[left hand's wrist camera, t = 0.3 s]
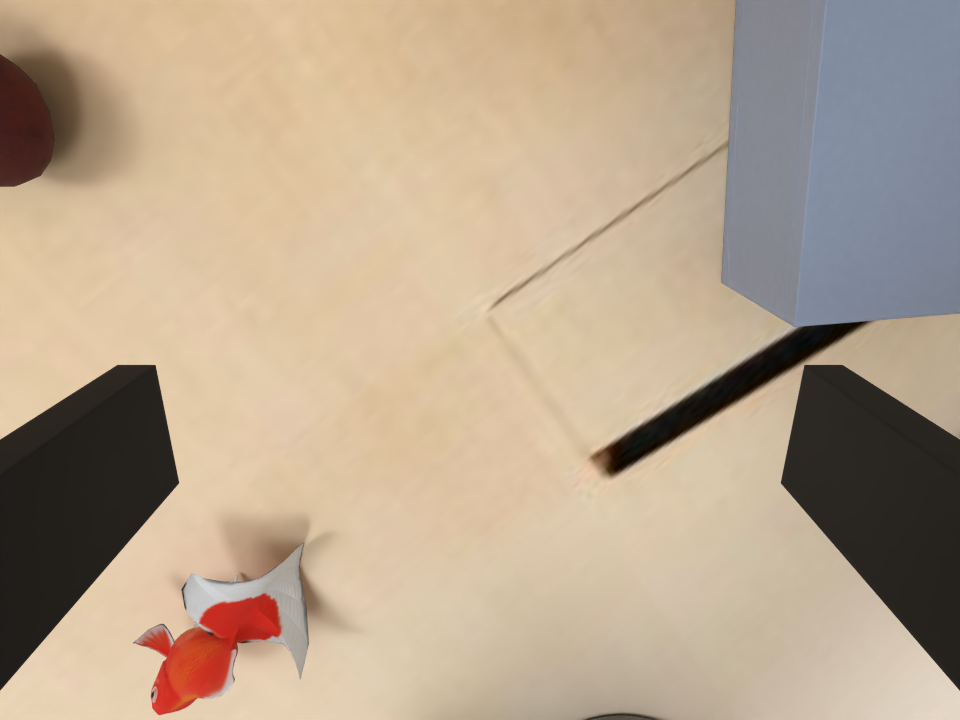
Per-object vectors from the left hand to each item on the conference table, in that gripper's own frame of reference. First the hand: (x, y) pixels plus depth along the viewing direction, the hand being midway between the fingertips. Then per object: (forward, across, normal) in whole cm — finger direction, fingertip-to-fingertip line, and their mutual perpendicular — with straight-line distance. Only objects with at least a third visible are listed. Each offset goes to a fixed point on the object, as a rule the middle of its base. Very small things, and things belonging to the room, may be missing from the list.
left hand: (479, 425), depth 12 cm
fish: (+28, +18, +28) cm, 44 cm away
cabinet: (+28, -20, -7) cm, 35 cm away
